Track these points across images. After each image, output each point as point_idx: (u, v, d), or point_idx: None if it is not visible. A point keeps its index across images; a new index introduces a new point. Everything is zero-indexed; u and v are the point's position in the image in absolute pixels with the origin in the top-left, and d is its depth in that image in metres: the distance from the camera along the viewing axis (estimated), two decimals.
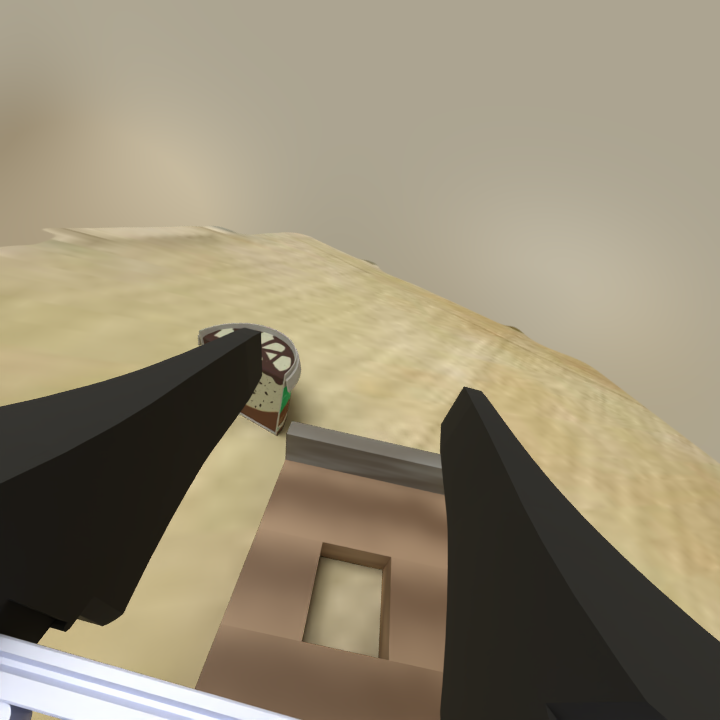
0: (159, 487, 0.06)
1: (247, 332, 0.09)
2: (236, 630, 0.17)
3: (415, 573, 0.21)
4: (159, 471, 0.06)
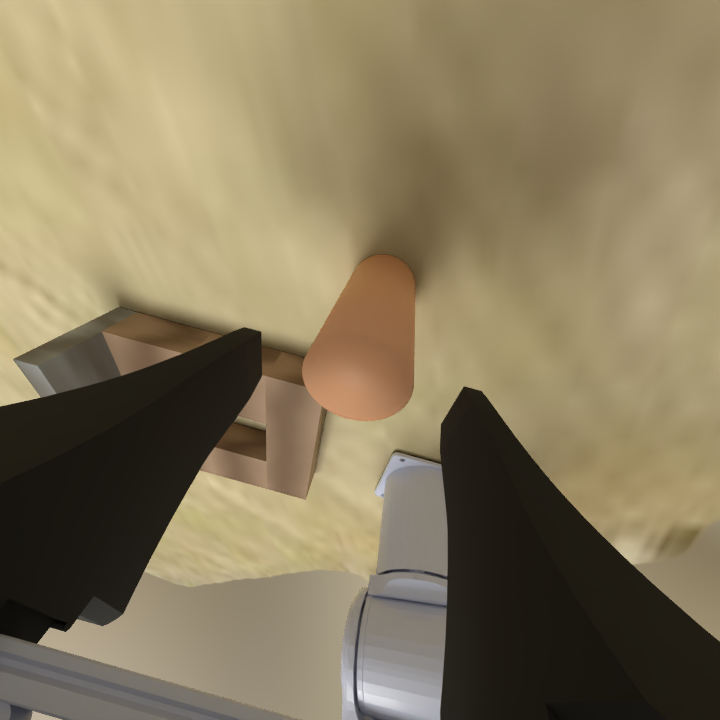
0: (159, 487, 0.06)
1: (247, 332, 0.09)
2: (268, 484, 0.28)
3: None
4: (159, 471, 0.06)
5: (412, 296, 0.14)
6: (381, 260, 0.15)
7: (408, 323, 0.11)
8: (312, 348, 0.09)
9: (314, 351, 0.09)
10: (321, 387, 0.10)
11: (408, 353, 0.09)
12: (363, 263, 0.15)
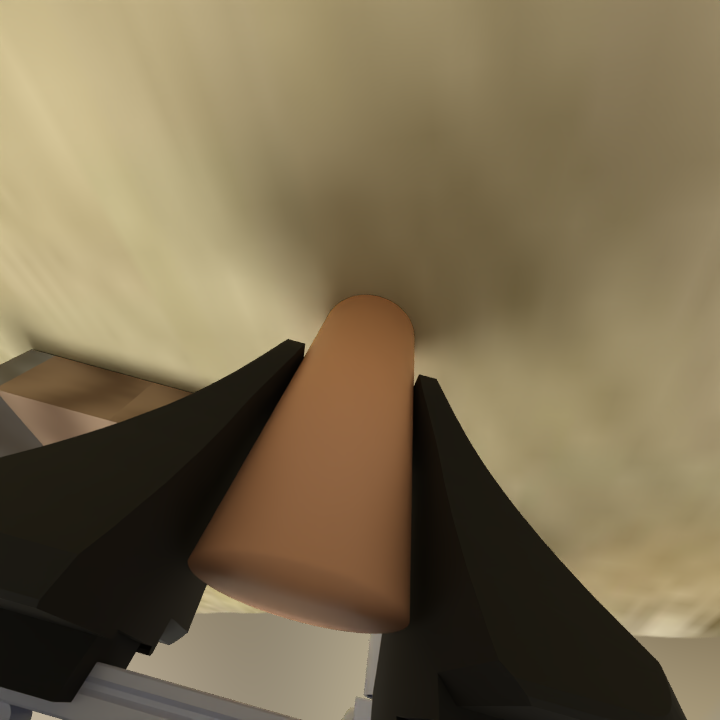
0: None
1: (293, 345, 0.09)
2: None
3: None
4: (225, 489, 0.06)
5: (409, 369, 0.09)
6: (364, 307, 0.10)
7: (401, 451, 0.06)
8: (196, 554, 0.04)
9: (202, 557, 0.04)
10: (235, 590, 0.05)
11: (398, 556, 0.05)
12: (338, 309, 0.10)
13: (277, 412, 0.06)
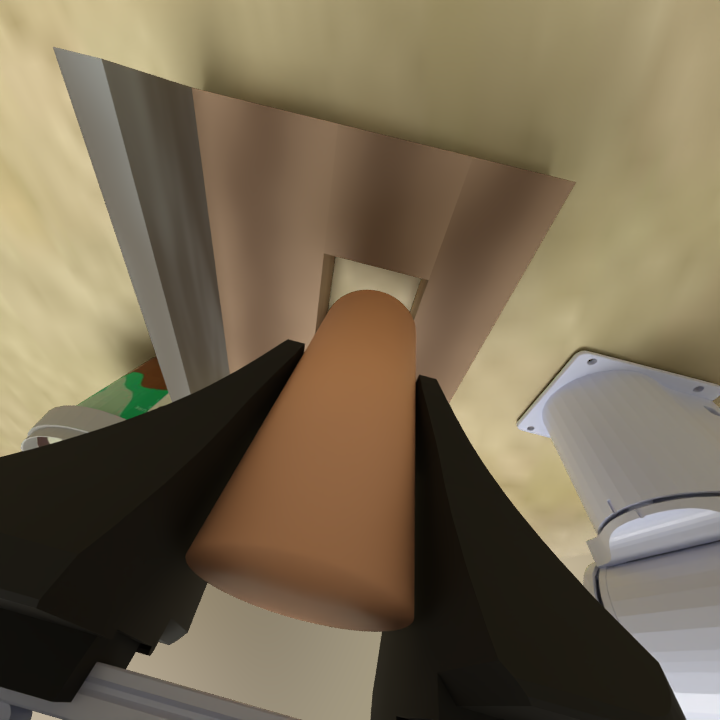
0: None
1: (292, 345, 0.09)
2: None
3: (343, 216, 0.13)
4: None
5: (413, 367, 0.09)
6: (369, 302, 0.10)
7: (407, 449, 0.06)
8: (197, 547, 0.04)
9: (203, 551, 0.04)
10: (231, 585, 0.05)
11: (406, 554, 0.04)
12: (342, 302, 0.10)
13: (281, 403, 0.06)
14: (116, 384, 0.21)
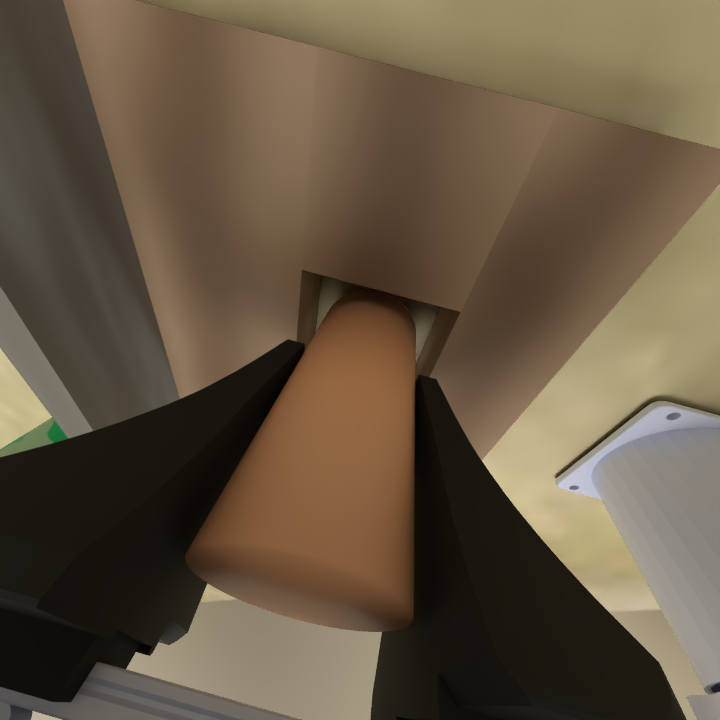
0: None
1: (292, 344, 0.09)
2: None
3: (330, 213, 0.08)
4: None
5: (412, 368, 0.09)
6: (369, 303, 0.10)
7: (406, 449, 0.06)
8: (197, 547, 0.04)
9: (202, 551, 0.04)
10: (230, 585, 0.05)
11: (406, 555, 0.04)
12: (342, 303, 0.10)
13: (281, 404, 0.06)
14: (38, 431, 0.16)
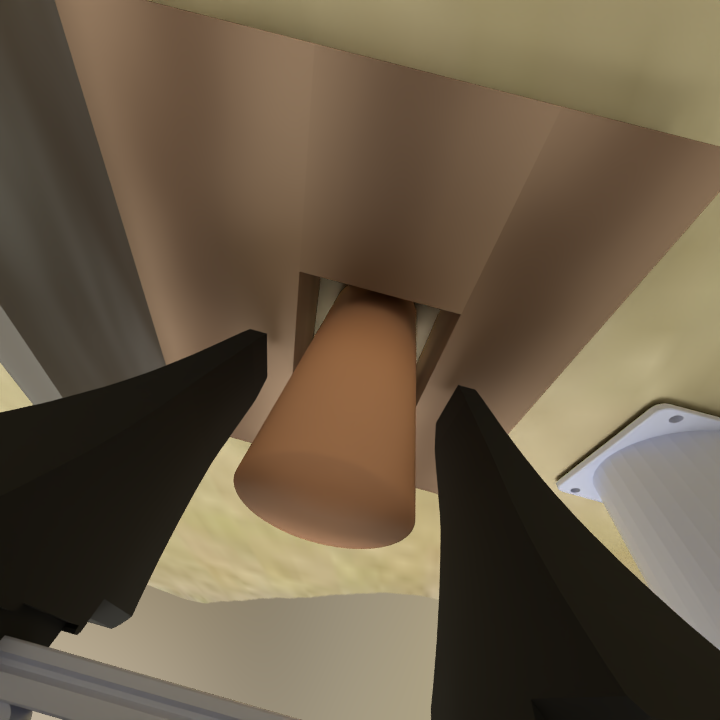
0: (168, 489, 0.06)
1: (253, 334, 0.09)
2: None
3: (327, 213, 0.08)
4: (168, 473, 0.06)
5: (414, 343, 0.10)
6: None
7: (409, 402, 0.07)
8: (247, 461, 0.05)
9: (251, 465, 0.05)
10: (267, 505, 0.06)
11: (409, 472, 0.06)
12: (350, 288, 0.12)
13: (303, 365, 0.07)
14: None
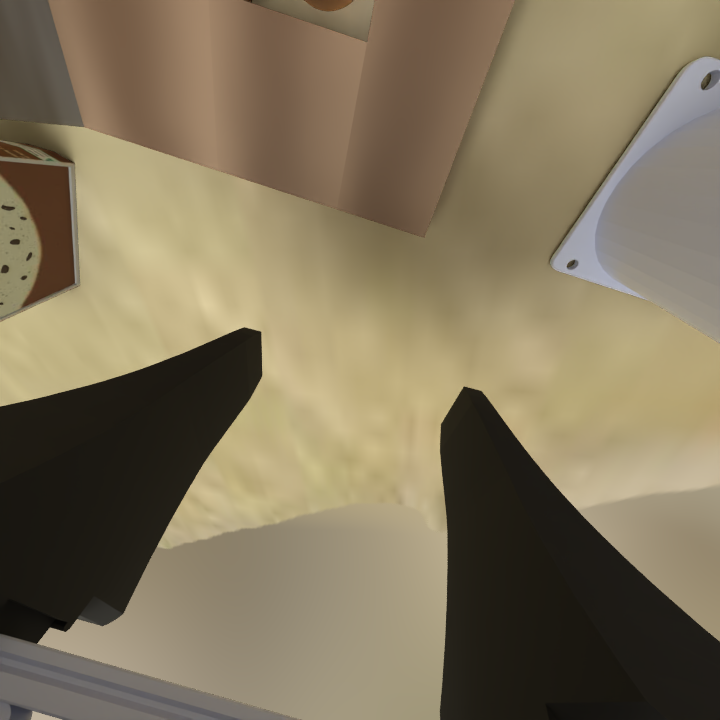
0: (159, 487, 0.06)
1: (247, 332, 0.09)
2: (344, 182, 0.12)
3: None
4: (159, 471, 0.06)
5: None
6: None
7: None
8: None
9: None
10: None
11: None
12: None
13: None
14: None
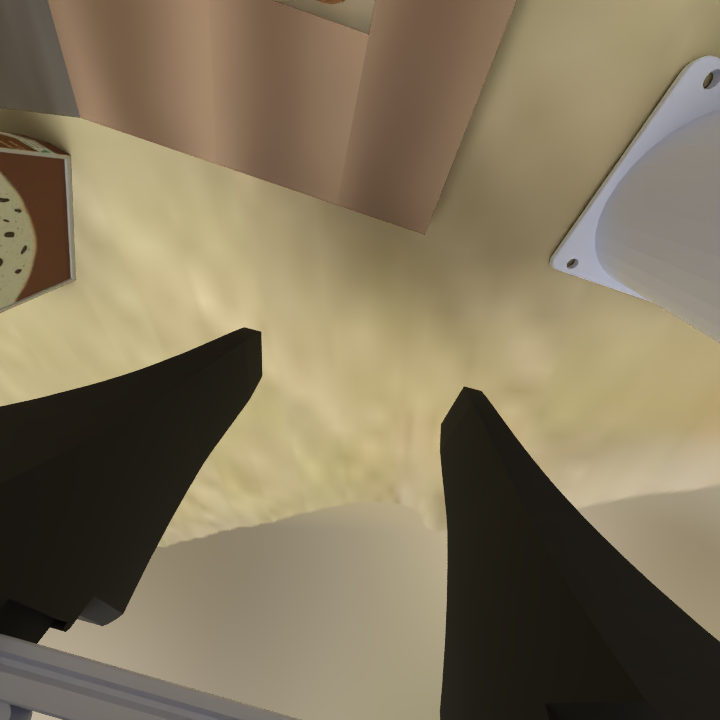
0: (159, 487, 0.06)
1: (247, 332, 0.09)
2: (344, 177, 0.12)
3: None
4: (159, 471, 0.06)
5: None
6: None
7: None
8: None
9: None
10: None
11: None
12: None
13: None
14: None
